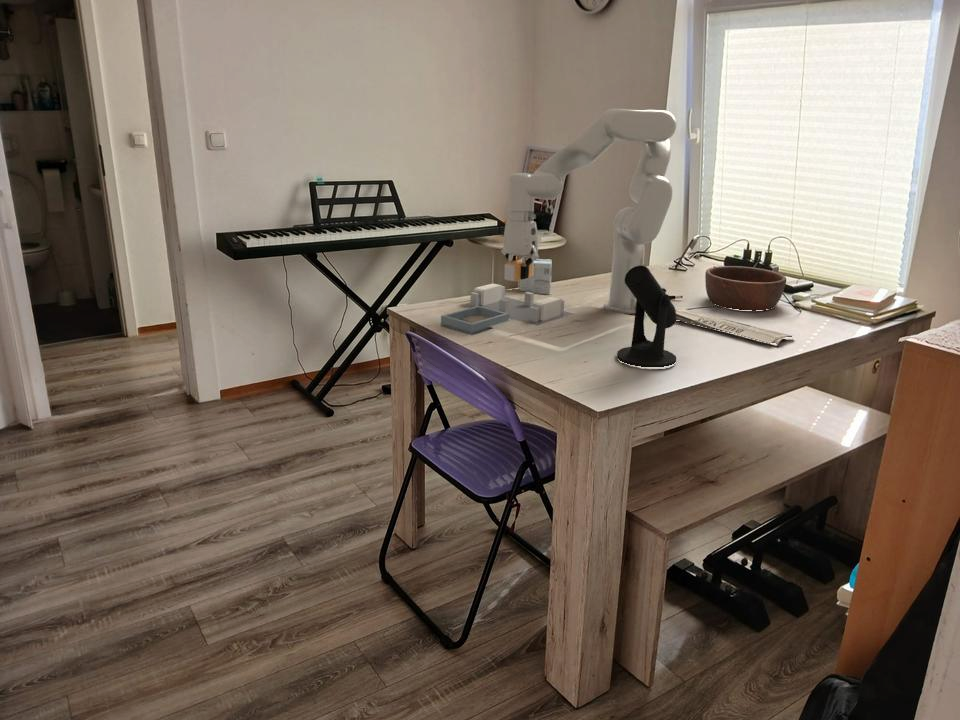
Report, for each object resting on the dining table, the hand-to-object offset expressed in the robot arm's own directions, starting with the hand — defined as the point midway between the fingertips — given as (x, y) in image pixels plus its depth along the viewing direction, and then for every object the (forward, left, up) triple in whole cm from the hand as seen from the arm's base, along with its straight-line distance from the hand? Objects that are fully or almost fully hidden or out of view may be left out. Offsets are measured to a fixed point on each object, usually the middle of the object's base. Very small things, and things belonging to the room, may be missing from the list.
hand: (519, 276), depth 232 cm
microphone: (-51, +11, -11) cm, 53 cm away
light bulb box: (+12, -25, -11) cm, 30 cm away
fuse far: (+12, 0, -10) cm, 15 cm away
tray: (0, +19, -11) cm, 22 cm away
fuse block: (0, 0, -11) cm, 11 cm away
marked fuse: (0, 0, 0) cm, 0 cm away
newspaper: (-54, -30, -12) cm, 63 cm away
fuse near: (-11, 0, -10) cm, 15 cm away
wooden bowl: (-45, -62, -11) cm, 77 cm away
